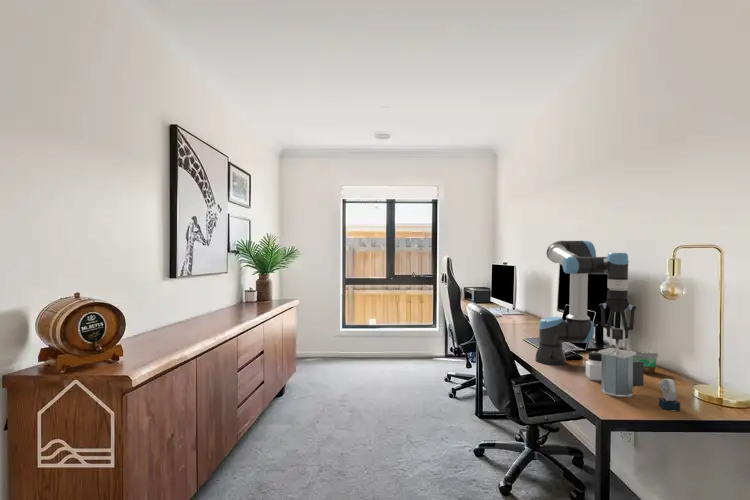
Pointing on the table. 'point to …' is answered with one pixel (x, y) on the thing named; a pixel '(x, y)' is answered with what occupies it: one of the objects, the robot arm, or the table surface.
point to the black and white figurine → (594, 366)
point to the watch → (669, 395)
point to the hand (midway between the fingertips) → (617, 345)
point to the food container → (646, 361)
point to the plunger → (617, 337)
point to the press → (620, 372)
